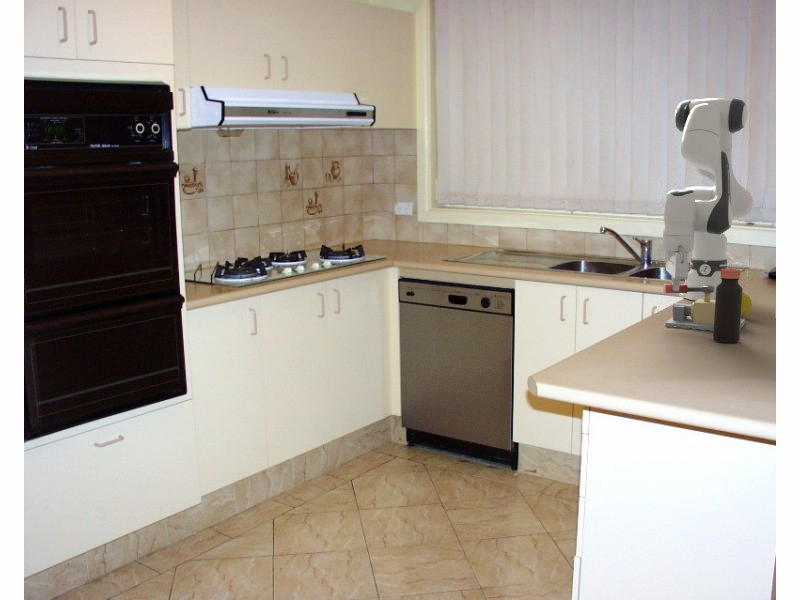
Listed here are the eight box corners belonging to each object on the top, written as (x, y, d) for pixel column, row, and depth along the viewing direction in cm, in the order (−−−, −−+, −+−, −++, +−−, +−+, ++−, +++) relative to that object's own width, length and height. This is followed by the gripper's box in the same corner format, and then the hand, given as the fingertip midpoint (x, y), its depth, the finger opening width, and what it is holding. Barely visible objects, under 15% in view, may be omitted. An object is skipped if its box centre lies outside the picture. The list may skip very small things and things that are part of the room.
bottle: (716, 343, 229) (720, 271, 225) (710, 337, 235) (714, 267, 232) (742, 344, 228) (746, 271, 224) (735, 338, 234) (740, 267, 231)
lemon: (753, 319, 259) (755, 294, 258) (735, 319, 259) (737, 294, 258) (746, 315, 265) (748, 290, 263) (728, 316, 265) (730, 291, 263)
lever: (662, 291, 253) (663, 283, 253) (711, 291, 252) (712, 283, 252) (665, 293, 249) (666, 285, 249) (715, 293, 248) (715, 285, 248)
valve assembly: (665, 326, 250) (667, 294, 249) (677, 316, 264) (679, 285, 262) (736, 333, 240) (738, 299, 239) (745, 323, 254) (747, 291, 252)
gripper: (695, 248, 236) (692, 296, 238) (684, 241, 256) (681, 286, 258) (671, 247, 237) (669, 295, 239) (662, 241, 257) (660, 285, 259)
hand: (675, 290), depth 249 cm, fingers closed, pressing on lever
